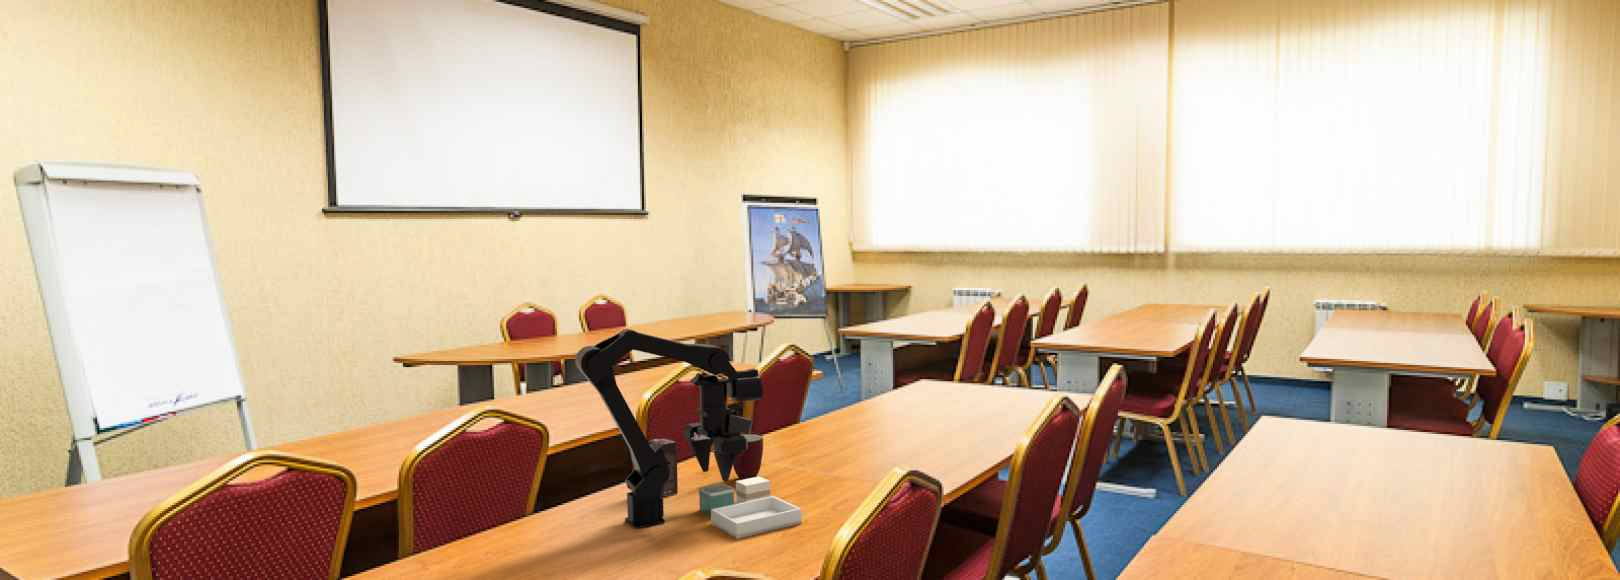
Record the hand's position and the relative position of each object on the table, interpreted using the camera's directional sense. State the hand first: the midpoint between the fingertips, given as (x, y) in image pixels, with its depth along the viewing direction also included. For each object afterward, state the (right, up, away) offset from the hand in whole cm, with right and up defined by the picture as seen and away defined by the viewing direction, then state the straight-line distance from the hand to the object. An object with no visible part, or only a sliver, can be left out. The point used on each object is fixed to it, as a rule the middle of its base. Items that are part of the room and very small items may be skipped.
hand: (715, 476), depth 189 cm
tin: (0, -8, +1) cm, 8 cm away
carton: (+8, -7, +5) cm, 12 cm away
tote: (+9, -8, -8) cm, 15 cm away
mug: (+5, -6, +23) cm, 25 cm away
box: (-13, -7, +15) cm, 21 cm away
